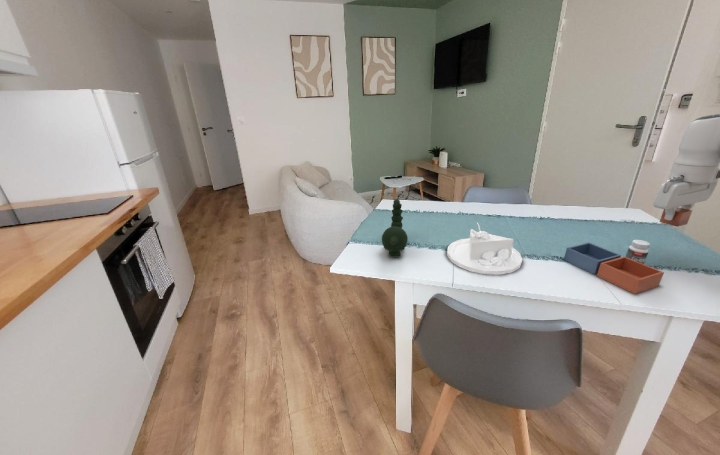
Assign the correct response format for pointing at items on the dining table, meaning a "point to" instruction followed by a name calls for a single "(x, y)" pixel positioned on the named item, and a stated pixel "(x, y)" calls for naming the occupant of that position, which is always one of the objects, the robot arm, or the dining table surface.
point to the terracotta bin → (630, 274)
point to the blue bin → (589, 256)
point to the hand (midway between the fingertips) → (675, 217)
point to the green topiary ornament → (395, 232)
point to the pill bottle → (638, 251)
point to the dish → (485, 253)
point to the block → (677, 217)
